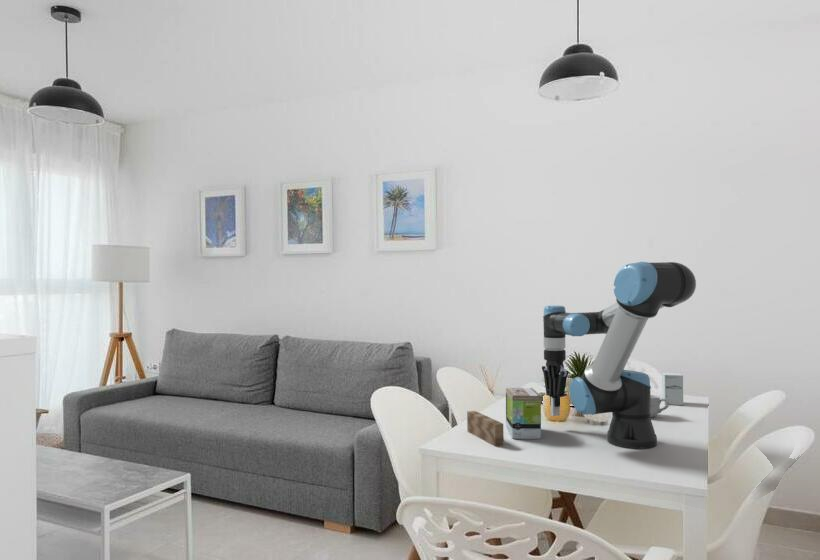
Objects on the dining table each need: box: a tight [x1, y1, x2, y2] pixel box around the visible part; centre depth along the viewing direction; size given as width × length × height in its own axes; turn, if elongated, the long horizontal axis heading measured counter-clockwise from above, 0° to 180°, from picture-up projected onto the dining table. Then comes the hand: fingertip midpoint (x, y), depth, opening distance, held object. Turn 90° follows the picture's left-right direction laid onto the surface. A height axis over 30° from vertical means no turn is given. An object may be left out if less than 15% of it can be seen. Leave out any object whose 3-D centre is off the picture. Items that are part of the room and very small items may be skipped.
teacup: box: [650, 394, 670, 418], centre depth 217 cm, size 14×11×8 cm
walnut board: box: [466, 410, 505, 447], centre depth 192 cm, size 20×3×7 cm, turn 21°
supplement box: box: [661, 371, 684, 406], centre depth 240 cm, size 7×7×13 cm
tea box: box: [505, 387, 542, 440], centre depth 197 cm, size 15×10×15 cm
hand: (555, 415), depth 202 cm, fingers closed
